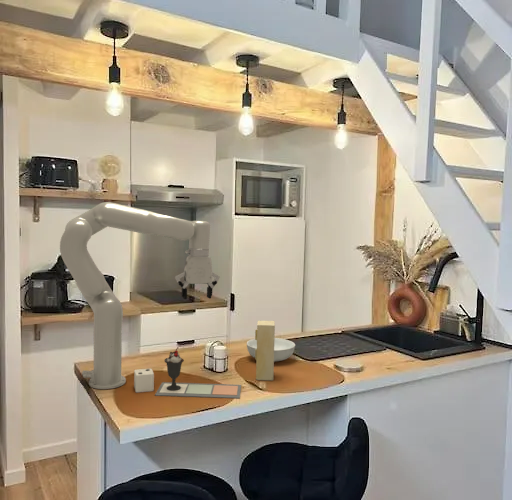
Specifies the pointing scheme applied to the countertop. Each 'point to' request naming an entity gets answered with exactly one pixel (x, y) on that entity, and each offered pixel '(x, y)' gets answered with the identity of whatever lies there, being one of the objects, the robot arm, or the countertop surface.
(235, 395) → the game board
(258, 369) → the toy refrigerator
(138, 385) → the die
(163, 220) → the robot arm
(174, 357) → the sundae
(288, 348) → the serving bowl
